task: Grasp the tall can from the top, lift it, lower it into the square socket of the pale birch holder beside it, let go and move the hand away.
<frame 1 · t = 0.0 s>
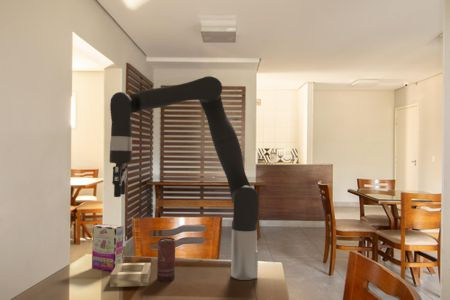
hand: (119, 195, 119), 29 cm above the table, tool pointing down, fingers open, 8 cm apart
birch holder: (131, 279, 118), on the table
can: (166, 279, 119), on the table
candy bar box: (107, 269, 129), on the table
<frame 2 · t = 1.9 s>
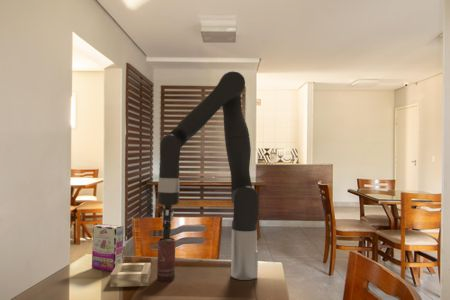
hand: (166, 236, 120), 15 cm above the table, tool pointing down, fingers open, 8 cm apart
nothing on the table moved.
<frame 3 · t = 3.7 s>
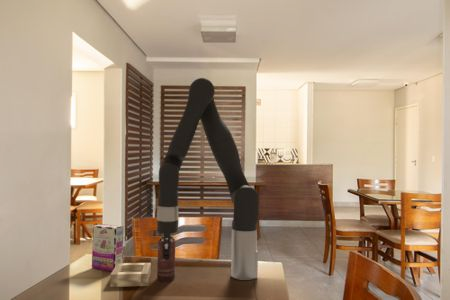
hand: (166, 267, 120), 4 cm above the table, tool pointing down, fingers open, 3 cm apart
nothing on the table moved.
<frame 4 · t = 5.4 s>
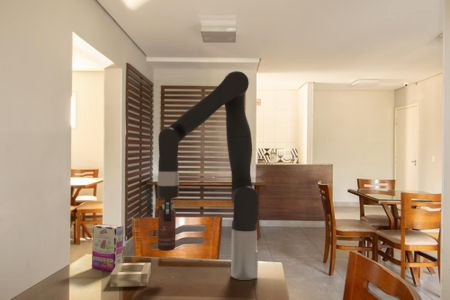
hand: (167, 232, 120), 16 cm above the table, tool pointing down, fingers closed
can: (167, 249, 120), point 10 cm above the table, touching hand
everything else where it was.
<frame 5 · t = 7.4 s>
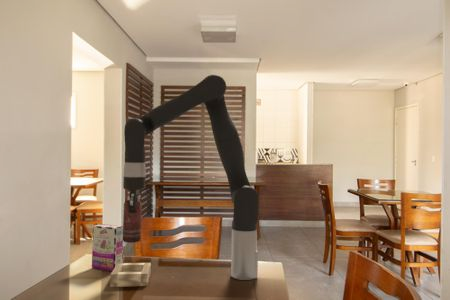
hand: (133, 224, 118), 19 cm above the table, tool pointing down, fingers closed
can: (132, 241, 118), point 13 cm above the table, touching hand
everything else where it was.
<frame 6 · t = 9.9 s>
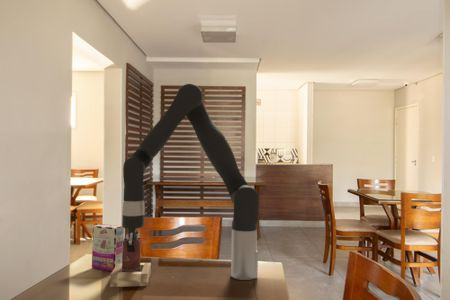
hand: (132, 262, 118), 6 cm above the table, tool pointing down, fingers closed
can: (131, 279, 118), resting in birch holder, touching hand
everything else where it was.
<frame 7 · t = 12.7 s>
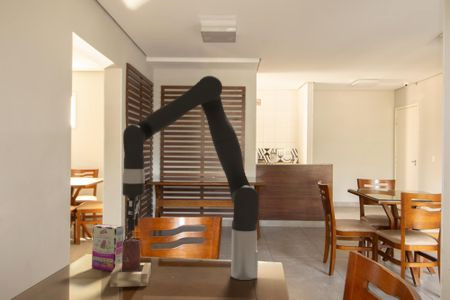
hand: (133, 227, 118), 18 cm above the table, tool pointing down, fingers open, 8 cm apart
can: (131, 280, 118), resting in birch holder
everything else where it was.
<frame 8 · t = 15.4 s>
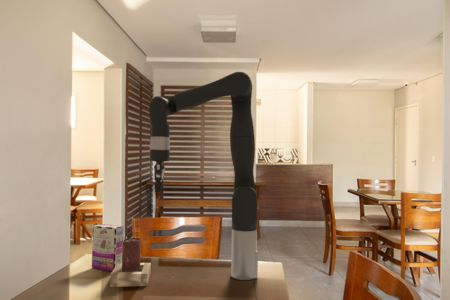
hand: (158, 191, 130), 30 cm above the table, tool pointing down, fingers open, 8 cm apart
nothing on the table moved.
at the end: can 0.2 cm off-centre on the birch holder, point 0.0 cm above the birch holder's base; can tilted 0°; the gripper is holding nothing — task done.
